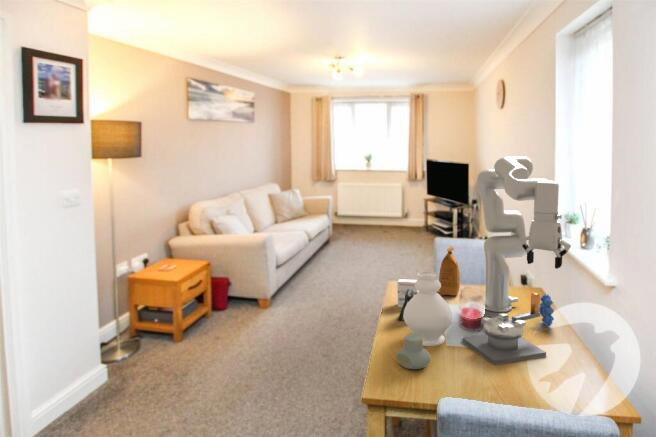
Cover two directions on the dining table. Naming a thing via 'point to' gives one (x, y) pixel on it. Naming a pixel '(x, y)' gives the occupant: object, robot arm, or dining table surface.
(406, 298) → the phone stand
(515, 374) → the dining table surface
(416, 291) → the ink box
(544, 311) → the grapes
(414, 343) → the air freshener
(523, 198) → the robot arm
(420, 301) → the decorative vase
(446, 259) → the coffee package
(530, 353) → the thin grey metal plate
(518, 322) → the multicoloured piece
